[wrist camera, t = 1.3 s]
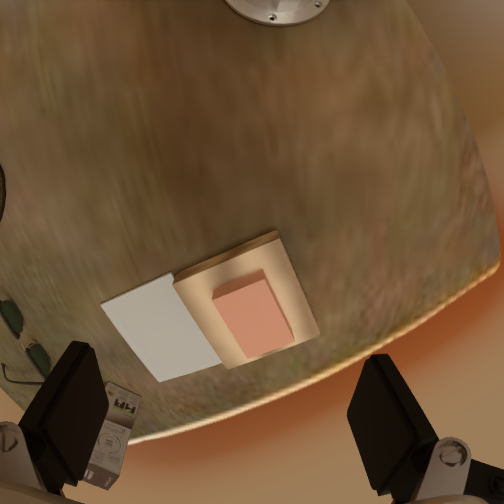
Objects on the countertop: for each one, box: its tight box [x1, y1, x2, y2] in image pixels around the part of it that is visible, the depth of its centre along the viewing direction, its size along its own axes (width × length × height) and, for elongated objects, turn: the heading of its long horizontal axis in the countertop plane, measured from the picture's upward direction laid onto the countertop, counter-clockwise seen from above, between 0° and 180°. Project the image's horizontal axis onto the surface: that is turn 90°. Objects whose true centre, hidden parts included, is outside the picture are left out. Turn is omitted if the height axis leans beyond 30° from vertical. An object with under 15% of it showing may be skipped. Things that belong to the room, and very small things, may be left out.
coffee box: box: [82, 382, 141, 490], centre depth 38 cm, size 9×6×16 cm
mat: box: [100, 271, 223, 382], centre depth 40 cm, size 12×15×1 cm
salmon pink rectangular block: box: [212, 269, 295, 359], centre depth 35 cm, size 6×9×2 cm, turn 24°
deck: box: [172, 230, 321, 369], centre depth 37 cm, size 13×14×3 cm
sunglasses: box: [0, 299, 51, 385], centre depth 39 cm, size 16×17×5 cm
